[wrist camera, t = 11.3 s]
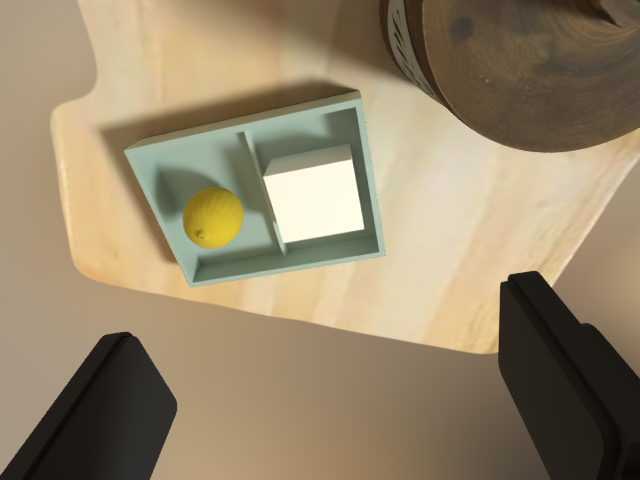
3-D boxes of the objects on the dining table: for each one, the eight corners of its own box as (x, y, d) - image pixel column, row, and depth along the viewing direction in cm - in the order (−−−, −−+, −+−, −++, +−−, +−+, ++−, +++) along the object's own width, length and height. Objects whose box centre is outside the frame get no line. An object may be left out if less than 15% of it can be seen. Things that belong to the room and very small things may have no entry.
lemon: (189, 203, 41) (160, 241, 34) (214, 165, 38) (189, 197, 32) (233, 231, 42) (213, 273, 35) (260, 196, 40) (245, 233, 33)
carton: (271, 159, 38) (263, 176, 34) (349, 143, 37) (351, 159, 33) (288, 219, 41) (283, 242, 37) (360, 206, 40) (364, 229, 36)
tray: (142, 138, 38) (123, 150, 34) (358, 90, 35) (361, 98, 32) (200, 267, 46) (189, 287, 42) (381, 237, 43) (386, 256, 39)
